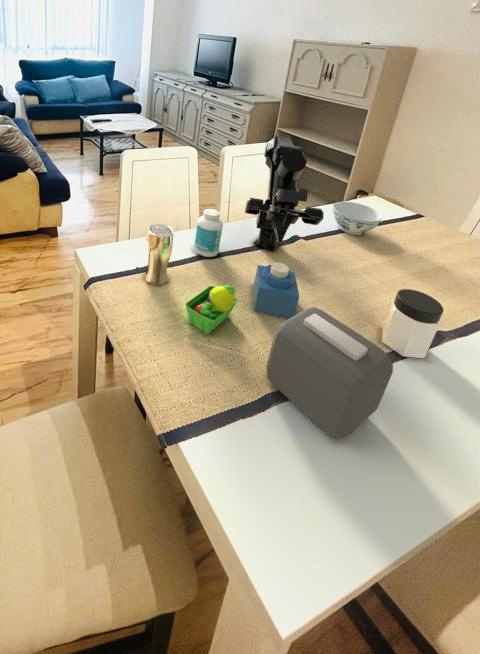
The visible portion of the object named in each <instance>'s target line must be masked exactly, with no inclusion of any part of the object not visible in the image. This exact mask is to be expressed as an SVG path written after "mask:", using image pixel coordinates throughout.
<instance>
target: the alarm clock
mask: <svg viewBox="0 0 480 654" xmlns="http://www.w3.org/2000/svg"><path fill="white" fill-rule="evenodd" d="M266 362H267V363H266V366H265V369H266V377H267V379H268V381H269V382H270V383H271V384H272V385H273V386H274V387H275V388H276V389H277V390H278V391H279V392H280V393H281V394H282V395H283V396H285V398H287V399H288V400H289V401H290V402H292V403H293V404H294V405H295V406H296V407H297V408H298V409H299V410H300V411H301V412H303V413H304V414H305V415H306V416H307V417H308V418H309V419H310V420H311V421H313V423H315V424H316V425H317V426H318V427H319V428H320V429H321V430H323V432H325V433H327V434H329V435H330V436H331V437H333V438H338V439H344V438H347V437H349V436H350V435H351V434H352V433H353V432H354V431H355V430H357V429H358V428H359V427H360V426H361V425H362V424H363V423H364V422H365V421H366V420H367V419H368V418H369V417H370V416H372V415H373V414H374V413H375V412H376V411H377V410H378V409H379V406H380V404H381V402H382V399H383V397H384V395H385V392H386V389H387V387H388V385H389V382H390V380H391V377H392V375H393V371H394V363H393V361H392V359H391V357H390V355H389V354H388V353H386V352H385V351H384V350H383V349H382V347H380V346H378V345H377V344H375V343H374V342H372V341H371V340H369V339H367V338H366V337H365V336H363V335H361V334H360V333H358V332H357V331H355V330H354V329H352V328H351V327H349V326H347V325H346V324H344V323H343V322H341V321H339V320H338V319H337V318H335V317H334V316H333V315H330V314H329V313H327V312H326V311H324V310H322V309H320V308H317V307H315V306H312V307H308V308H306V309H304V310H302V311H300V312H299V313H297V314H294V316H293V317H291V318H290V319H286V320H284V321H282V322H281V323H280V324H279V325H278V326H277V328H276V329H275V331H274V335H273V338H272V342H271V346H270V350H269V354H268V358H267V361H266Z"/></svg>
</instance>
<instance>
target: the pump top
mask: <svg viewBox="0 0 480 654" xmlns="http://www.w3.org/2000/svg"><path fill="white" fill-rule="evenodd" d="M271 265H272V266H271V270H270V273H271V274H272V275H273V276H275V277H277V278H282V279H284V278H287V276H288V272H289V270H290V268H289V266H288V265H286V264H284V263H282V262H273V263H271Z"/></svg>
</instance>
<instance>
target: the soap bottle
mask: <svg viewBox="0 0 480 654" xmlns="http://www.w3.org/2000/svg"><path fill="white" fill-rule="evenodd" d="M271 266H272V264H267V265H261V264H257V267H256V271H255V276H254V281H253V286H252V293H253V311H254V312H257V313H262V314H266V315H270V316H275V317H279V318H283V319H286V320H288V319H290V318H291V317H293V316H295V315H296V314H295V313H296V310H297V306H298V302H299V299H300V292H299V287H298V281H297V277H296V273H295V271H292V270H290V269H289V272H288V276H287V278H284V279H282V278H277V277H275V276H273V275H272V274H271V273H270V270H271Z"/></svg>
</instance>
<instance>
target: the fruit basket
mask: <svg viewBox="0 0 480 654" xmlns="http://www.w3.org/2000/svg"><path fill="white" fill-rule="evenodd" d="M237 303H238V299H237V298H236V288H234V286H233V285H230V284H226V285H218V286H214V285H209V286H208V287H206V288H205V289H204V290H203V291H201V292H200V293H198V294H197V295H195V296H194V297H192V298H191V299H190V300H189V301H187V302H185V309H186V311H187V316H188V322H189V324H191V325H193V326H194V327H195V328H197V329H198V330H200V331H201V332H204V333H205V334H206V335H209V334H210V333H212V331H213V330H215V329H216V328H218V326H219V325H221V324H222V322H224V320H226V319H227V318H228V317H229V316H230V314H231V313H232V310H234V308H235V306H236V305H237Z"/></svg>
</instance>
